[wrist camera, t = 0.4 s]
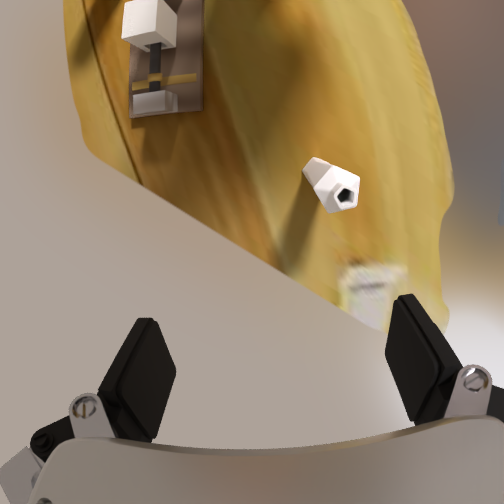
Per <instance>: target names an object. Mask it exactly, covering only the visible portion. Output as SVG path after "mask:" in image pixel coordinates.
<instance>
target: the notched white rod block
mask: <svg viewBox="0 0 504 504" xmlns="http://www.w3.org/2000/svg"><path fill="white" fill-rule="evenodd" d="M176 31H177V15H176V14H175V12H174V11H173V10H172V9H171V8H170V7H169V6H168V5H167V4H166V2H165V1H164V0H134V1H130V2H127V3H125V8H124V17H123V27H122V39H123V40H125V41H127V42H129V43H131V44H133V45H135V46H136V47H138V48H140V49H142V50H144V51H146V52H150V44H153V43H159V42H162V43H161V50H162V49H168V48H174V47H176Z"/></svg>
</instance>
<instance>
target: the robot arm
mask: <svg viewBox="0 0 504 504" xmlns="http://www.w3.org/2000/svg"><path fill="white" fill-rule="evenodd" d="M385 357H386V360H387V363H388V365H389V367H390V370H391V372H392V375H393V377H394V380H395V382H396V385H397V387H398V390H399V393H400V395H401V398H402V401H403V404H404V406H405V409H406V412H407V415H408V417H409V420H410V421H414V424H415V426H414V427H410V428H406V429H402V430H398V431H394V432H390V433H385V434H381V435H376V436H372V437H366V438H362V439H356V440H350V441H344V442H337V443H331V444H323V445H314V446H306V447H294V448H278V449H249V450H247V449H207V448H206V449H205V448H192V447H180V446H171V445H162V444H154V443H151V442H152V439H155V438H156V436H157V434H158V430H159V427H160V424H161V420H162V417H163V414H164V410H165V407H166V404H167V401H168V398H169V395H170V392H171V388H172V385H173V382H174V379H175V376H176V367H175V365H174V362H173V360H172V358H171V355H170V353H169V350H168V348H167V345H166V343H165V340H164V338H163V335H162V332H161V330H160V327H159V325H158V323H157V322H156V321H154V320H153V318H138V319H137V320H136V322H135V324H134V326H133V327H132V329H131V331H130V333H129V334H128V336H127V338H126V340H125V341H124V343H123V345H122V346H121V348H120V350H119V352H118V354H117V355H116V357H115V359H114V361H113V363H112V365H111V366H110V368H109V370H108V372H107V374H106V376H105V377H104V379H103V381H102V383H101V385H100V387H99V389H98V390H99V391H98V393H97V395H96V394H92V393H85V394H81V395H80V396H78V397H76V398H75V399H74V400H73V401H72V403H71V404H70V407H69V416H67V417H64V418H62V419H60V420H58V421H56V422H54V423H52V424H50V425H48V426H46V427H43V428H41V429H39V430H38V431H36V432H35V433H34V434H33V436H32V438H31V442H30V448H28V447H27V446H26V447H25V448H24V449H22V450H21V451H20V452H19V453H18V454H16V455H15V456H14V457H13V458H11V460H9V461H8V462H7V463H5V464H4V465H3V466H2V467H1V468H0V484H1V486H2V488H3V490H4V492H5V494H6V496H7V498H8V500H9V502H10V504H504V389H502V388H500V387H497V386H494V385H492V378H491V375H490V374H489V372H488V371H487V370H486V369H485V368H483V367H481V366H479V365H467V366H465V367H463V366H462V364H461V363H460V361H459V359H458V358H457V356H456V355H455V353H454V351H453V350H452V348H451V347H450V345H449V343H448V342H447V340H446V339H445V337H444V336H443V334H442V333H441V331H440V330H439V328H438V327H437V325H436V324H435V323H433V321H432V320H431V318H430V317H429V316H428V314H427V313H426V311H425V310H424V308H423V307H422V306H421V304H420V303H419V301H418V300H417V299H416V297H415V296H414V295H413V294H406V295H400V296H399V297H398V299H397V300H395V301H394V303H393V310H392V316H391V322H390V327H389V333H388V338H387V343H386V348H385Z"/></svg>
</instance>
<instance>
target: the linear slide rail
mask: <svg viewBox="0 0 504 504" xmlns="http://www.w3.org/2000/svg"><path fill="white" fill-rule="evenodd" d="M164 1H165V2H166V4H167V5H168V6H169V7H170V8H171V9H172V10H173V11H174V12H175V14H176V15H177V31H176V47H174V48H168V49H162V50H161V43H162V42H159V43H153V44H150V52H146V51H144V50H142V49H140V48H138V47H136V46H135V45H133V44H131V45H130V68H129V118H139V117H146V116H154V115H162V114H171V113H182V112H194V111H203V28H204V1H205V0H164Z"/></svg>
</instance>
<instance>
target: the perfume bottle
mask: <svg viewBox="0 0 504 504" xmlns="http://www.w3.org/2000/svg"><path fill="white" fill-rule="evenodd" d="M302 172H303V173H304V175H305V177H306V178H307V180H308V181H309V183H310V184H311V185H312V186H313V189H314V191H315V193H316V194H317V196H318V197H319V199H320V201H321V202H322V204H323V206H324V207H325V209H326V211H327V212H328V213H334V212H338V211H342V210H346V209H350V208H354V207H356V206H357V201H358V193H359V183H360V178H359V177H358V176H357V175H354V174H352V173H350V172H348V171H346V170H343V169H341V168H339V167H337V166H334V165H330V164H329V163H328V162H326V161H323V160H321V159H318V158H316V157H312V158H311V160H310V161H309V162H308V163H307V164H306V166H305V167H304V168H303V169H302Z"/></svg>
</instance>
